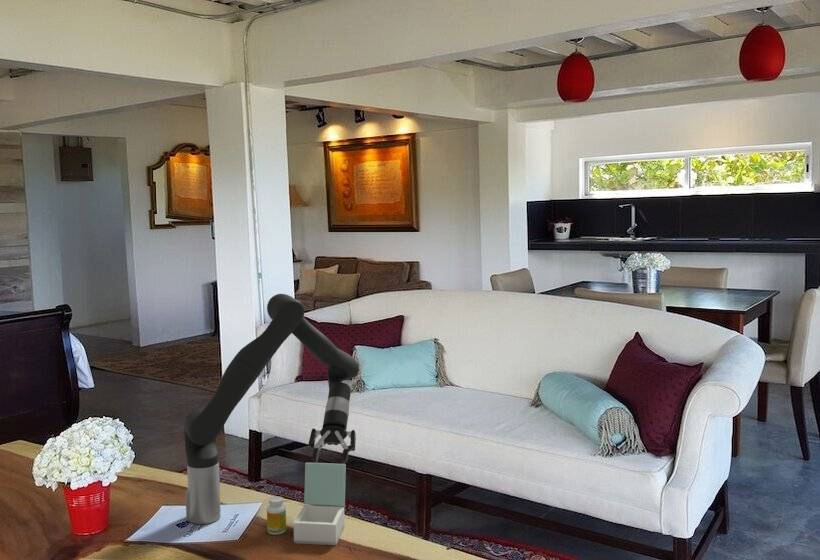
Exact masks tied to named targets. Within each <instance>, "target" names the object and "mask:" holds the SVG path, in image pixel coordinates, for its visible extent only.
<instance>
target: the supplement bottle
mask: <svg viewBox="0 0 820 560" xmlns="http://www.w3.org/2000/svg"><path fill="white" fill-rule="evenodd" d="M268 504H269V505H268V506H267V508H266V524H267V525H266V526H267V527H266V529H267V533H268V534H269V535H281V534H282V535H283V533H285V532H286V531H287V514H286V513H287V512H286V511H287V509H286V508H287V507H286V505H285V503H284V498H283V496H277V495H276V496H271V497H270V498H268Z"/></svg>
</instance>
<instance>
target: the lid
mask: <svg viewBox="0 0 820 560" xmlns="http://www.w3.org/2000/svg"><path fill="white" fill-rule="evenodd" d="M304 466H305V467H304V499H303V500H304V503H303V504H304V505H313V506H335V507H345V506H346V474H347V473H346V468H347V465H346V463H345V464H342V463H330V462H329V463H328V462H327V463H326V462H325V463H324V462H317V463H316V462H305V463H304Z"/></svg>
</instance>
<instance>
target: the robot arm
mask: <svg viewBox="0 0 820 560" xmlns="http://www.w3.org/2000/svg"><path fill="white" fill-rule="evenodd" d="M266 305H267V306H266V312H267V315H268V316H269V318H270V320H271V321H270V323H269V324H268V325H267V327H266V328H265V330H264V331H263V332H262V333H261V334H260V335H259V336H258V337H256V338H255V339H253V340H251V342H249V343H247V344H246V345H244V346H243V347H242V348H241V349H240V350H239V351H238V352H237V353H236V354H235V356H234V357H232V358H233V359H232V360H231V361H230V362H229V364H228V366H227V367H226V369H224V370H225V371H224V372H223V375H222V377H221V379H220V381H219V385H218V386H217V389H216V391H215V393H214V395H213V397H212V398H211V400H210V401H209V402H208V403H207V405H206V406H205V408H203V407H199V408H194V409H193V410H191V411H190V412H189V413H188V414H187V416H186V417H185V419H184V425H183V426H184V427H183V428H184V447H185V451H184V452H185V456H186V465H187V466H186V469H187V470H186V471H187V473H186V474H187V488H186V489H185V517H186V520H185V521H186V522H191V524H194V525H195V524H196V525H206V524H211V523H214V522H216V521H218V520H219V519H220V518H221V486H220V485H221V484H220V483H221V480H220V456H219V455H220V453H219V449H218V445H217V438H218V436H219V435H220V433H221V431H222V430H223V428H224V427H225V424H226V422H227V421H228V419H229V418H230V416H231V414H232V413H233V411H234V409H235V408H236V407H237V406H238V404H240V402H241V400H242V399H243V398H244V396H246V394H247V393H248V391H249V390H250V388H251V387H252V386H253V385H254V384H255V382H256V380H258V378H259V376H260V375H261V374H262V372H263V370H264V369H265V367H266V366H267V365H268V363H269V362H270V360H271V359H272V358H273V356H275V354H276V352H277V351H278V350H279V349H280V347H281V346H282V344H283V343H284V342H285V341H286V340H287V339H288V338H289V337H290V335H292V336H293V335H294V336H295V338H296V339H297V340H299V341H300V343H301V344H302V345H303V346H304V347H305V348H306V349H307V350H308V351H309V352H310V353H311V354H312V355H313V357H315V358H316V359H317V360H318V361H319V362H320V363H321V364H322V365H323V366H327V371H326V376H327V381H328V383H327V384H328V389H329V390H328V396H327V400H326V405H325V407H324V408H325V409H324V415H323V422H322V427H321V429H320V430H318V429H316V428H312V429H311V431H310V437H309V439H308V444H307V445H308V447H309V450H313V452H312V460H313V461H314V463H319V462H318V461H319V455H320V450H321V449H322V448H324V447H325V446H333V445H334V446H338V445H340V446H341V448H342V457H341V464H346V463H348V458H349V453H350V452H354V451H355V450H356V440H357V438H356V437H357V434H356V430H355V429H352V430H351V431H350V430H349V431H347V429H348V428H347V427H348V421H349V416H350V401H351V400H350V399H351V393H352V389H351V386H350V385H349V384H347V383H346V382H344V381H348V380H351V379H355V378H356V377H358V375H359V373H360V365H359V364H358V361H357V359H355V358H354V357H353V356H352V355H350V354H349V353H347V352H345V351H343V350H342V349H339V348H338V347H337V346H336V345H335V344H334V343H333V342H332V341H331V340H330V339H329V338H328V337H327V336H326V335H324V333H322V332H321V331H320V330H319V329H318V328H316V327H315V326H313V324H312V323H310V322H309V321H308V320H307V318H305V307H304V304H303V303H302V302H301V301H300V300H298V299H296V298H295V297H293V296H291V295H289V294H286V293H277V294H275V295H273V296H272V297H270V299H269V300H268V301H267V304H266ZM319 436H321V437H320V438H319V439H318V441H317V442H316V439H317V438H318V437H319ZM347 436H348V438H349V439H350V442H349V443H350V445H348V444H347V443H346V442H345V439H346V438H347Z"/></svg>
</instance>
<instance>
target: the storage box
mask: <svg viewBox="0 0 820 560" xmlns="http://www.w3.org/2000/svg"><path fill="white" fill-rule="evenodd" d="M344 528H345V506H334V505H313V504H304V505H303V506H302V508H301V510H300V512H299V513H298V514H297V516H296V518H295V520H294V521H293V544H300V545H301V544H304V545H319V546H320V545H322V546H326V545H327V546H337V545H338V542H339V539H340V537H341V535H342V533H343V531H344Z"/></svg>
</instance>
